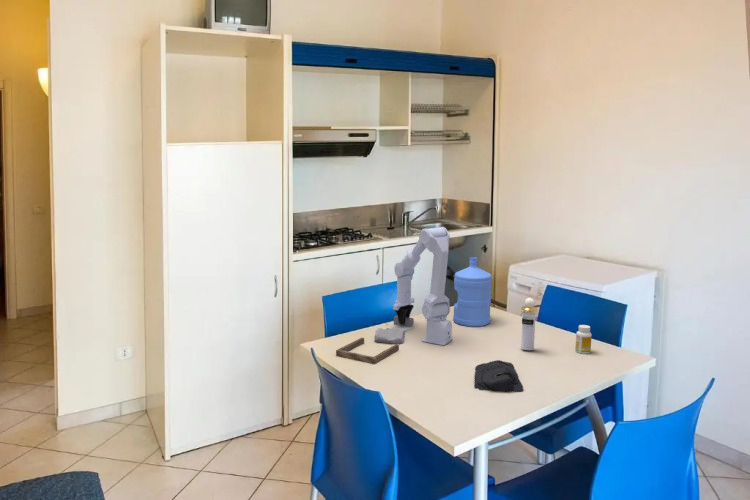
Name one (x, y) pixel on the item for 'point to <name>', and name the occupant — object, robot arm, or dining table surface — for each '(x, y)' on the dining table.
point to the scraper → (407, 326)
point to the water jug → (472, 296)
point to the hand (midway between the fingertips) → (403, 322)
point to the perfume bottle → (528, 324)
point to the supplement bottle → (583, 339)
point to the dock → (344, 353)
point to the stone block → (390, 335)
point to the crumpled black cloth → (497, 377)
